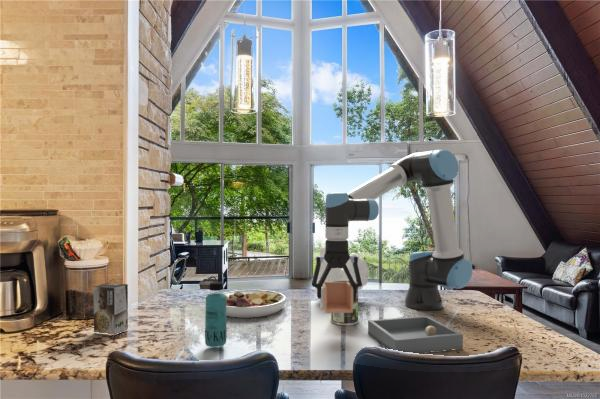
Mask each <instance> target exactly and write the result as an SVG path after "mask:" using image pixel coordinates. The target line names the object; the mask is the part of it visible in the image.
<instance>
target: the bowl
mask: <svg viewBox="0 0 600 399" xmlns="http://www.w3.org/2000/svg"><path fill="white" fill-rule="evenodd" d="M222 293H223V294H225V295H226V297H227V299H226V316H227V317H228V316H229V318H230V317H231V318H235V317H237V318H238V319H239V318H241V319H251V318H252V319H253V318H254V317H255V318H261V317H262V316H263V317H266V316H270V315H274V314H277V313H278V312H279V311H281V310H282V309H283V308H284V307H285V304H286V295H284V294H283V293H281V292H277V291H273V290H266V289H265V290H264V289H242V290H241V289H239V290H232V291H225V292H222ZM237 318H236V319H237Z"/></svg>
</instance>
